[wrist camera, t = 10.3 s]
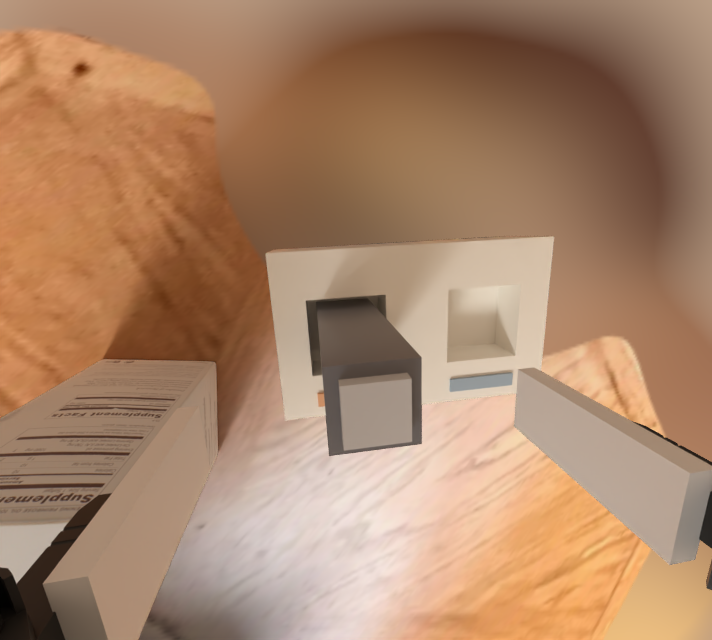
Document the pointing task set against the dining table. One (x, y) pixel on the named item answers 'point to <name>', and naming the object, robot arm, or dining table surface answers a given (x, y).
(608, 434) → the robot arm
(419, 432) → the plug
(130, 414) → the supplement box
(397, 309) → the socket block
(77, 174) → the dining table surface
